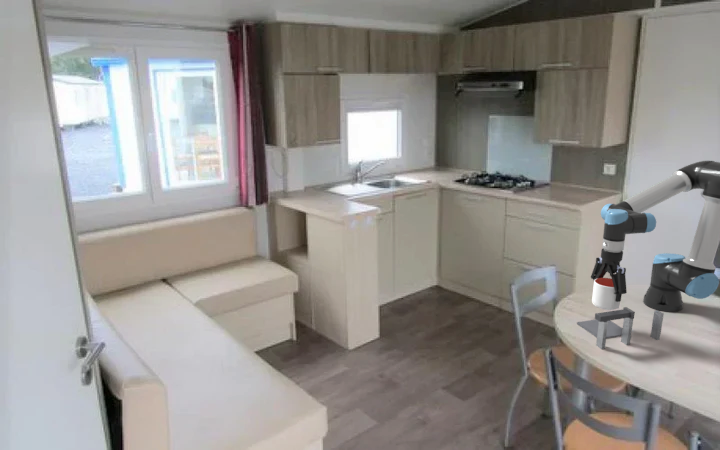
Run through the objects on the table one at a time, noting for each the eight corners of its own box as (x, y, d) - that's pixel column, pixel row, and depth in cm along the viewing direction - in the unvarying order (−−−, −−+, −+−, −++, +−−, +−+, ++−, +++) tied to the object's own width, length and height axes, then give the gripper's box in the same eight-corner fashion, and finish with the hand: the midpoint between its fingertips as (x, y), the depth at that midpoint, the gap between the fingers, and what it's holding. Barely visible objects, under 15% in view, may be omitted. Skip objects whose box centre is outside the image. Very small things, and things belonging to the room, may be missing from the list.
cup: (622, 312, 202) (625, 288, 199) (594, 310, 204) (597, 286, 201) (615, 301, 211) (618, 278, 209) (589, 299, 213) (591, 276, 211)
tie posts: (653, 336, 204) (657, 310, 201) (659, 339, 201) (663, 313, 198) (596, 345, 198) (599, 318, 195) (601, 349, 195) (604, 322, 192)
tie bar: (625, 313, 199) (626, 307, 198) (633, 318, 194) (634, 311, 194) (593, 318, 195) (594, 311, 195) (601, 323, 191) (602, 316, 190)
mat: (605, 319, 219) (606, 317, 219) (630, 334, 206) (630, 333, 206) (576, 323, 216) (576, 322, 215) (599, 339, 202) (599, 338, 202)
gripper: (584, 241, 211) (579, 292, 217) (625, 260, 190) (617, 316, 196) (600, 240, 213) (594, 290, 219) (642, 258, 192) (634, 313, 198)
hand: (605, 302), depth 207 cm, fingers closed on cup, 10 cm apart
